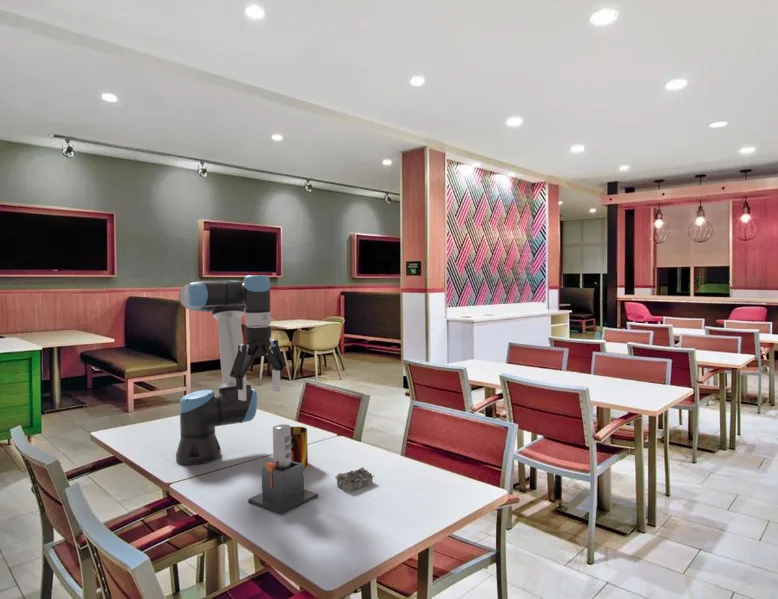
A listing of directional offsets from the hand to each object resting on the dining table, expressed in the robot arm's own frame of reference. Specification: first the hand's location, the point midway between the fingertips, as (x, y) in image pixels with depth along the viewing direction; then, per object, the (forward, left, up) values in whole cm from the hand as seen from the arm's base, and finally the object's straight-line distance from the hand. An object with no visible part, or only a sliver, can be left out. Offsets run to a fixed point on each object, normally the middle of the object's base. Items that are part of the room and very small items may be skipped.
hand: (260, 395), depth 160 cm
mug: (-3, +17, -29) cm, 33 cm away
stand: (+13, -3, -28) cm, 31 cm away
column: (+13, -3, -27) cm, 30 cm away
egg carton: (+23, +17, -29) cm, 40 cm away
